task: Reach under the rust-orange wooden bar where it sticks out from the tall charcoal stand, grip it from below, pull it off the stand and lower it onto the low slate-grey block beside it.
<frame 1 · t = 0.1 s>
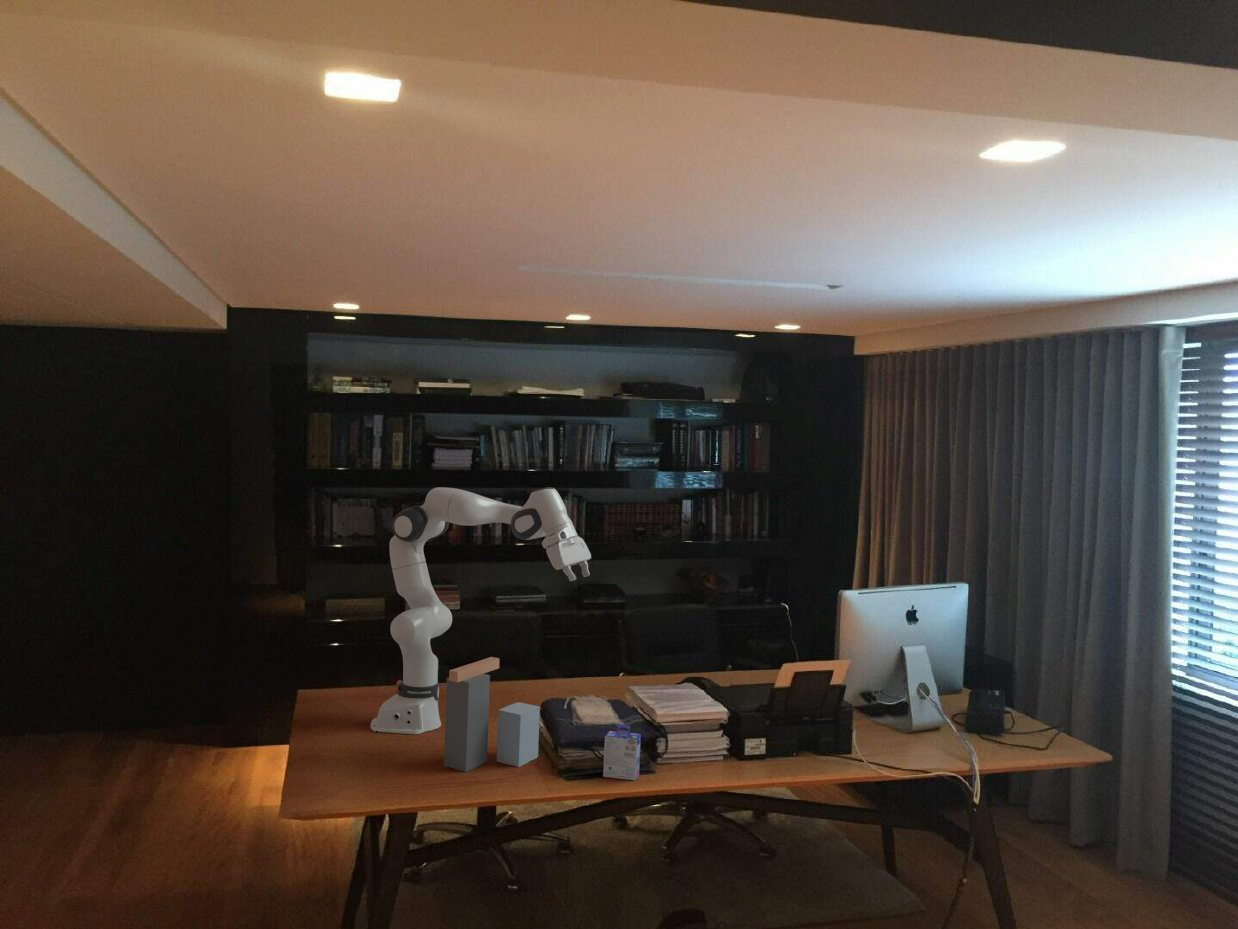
hand: (580, 578, 299), 54 cm above the table, tool tilted 30°, fingers open, 8 cm apart
bar: (489, 669, 298), point 26 cm above the table, touching tall stand
tall stand: (465, 764, 290), on the table
low block: (517, 759, 296), on the table
ink cartridge box: (621, 776, 286), on the table
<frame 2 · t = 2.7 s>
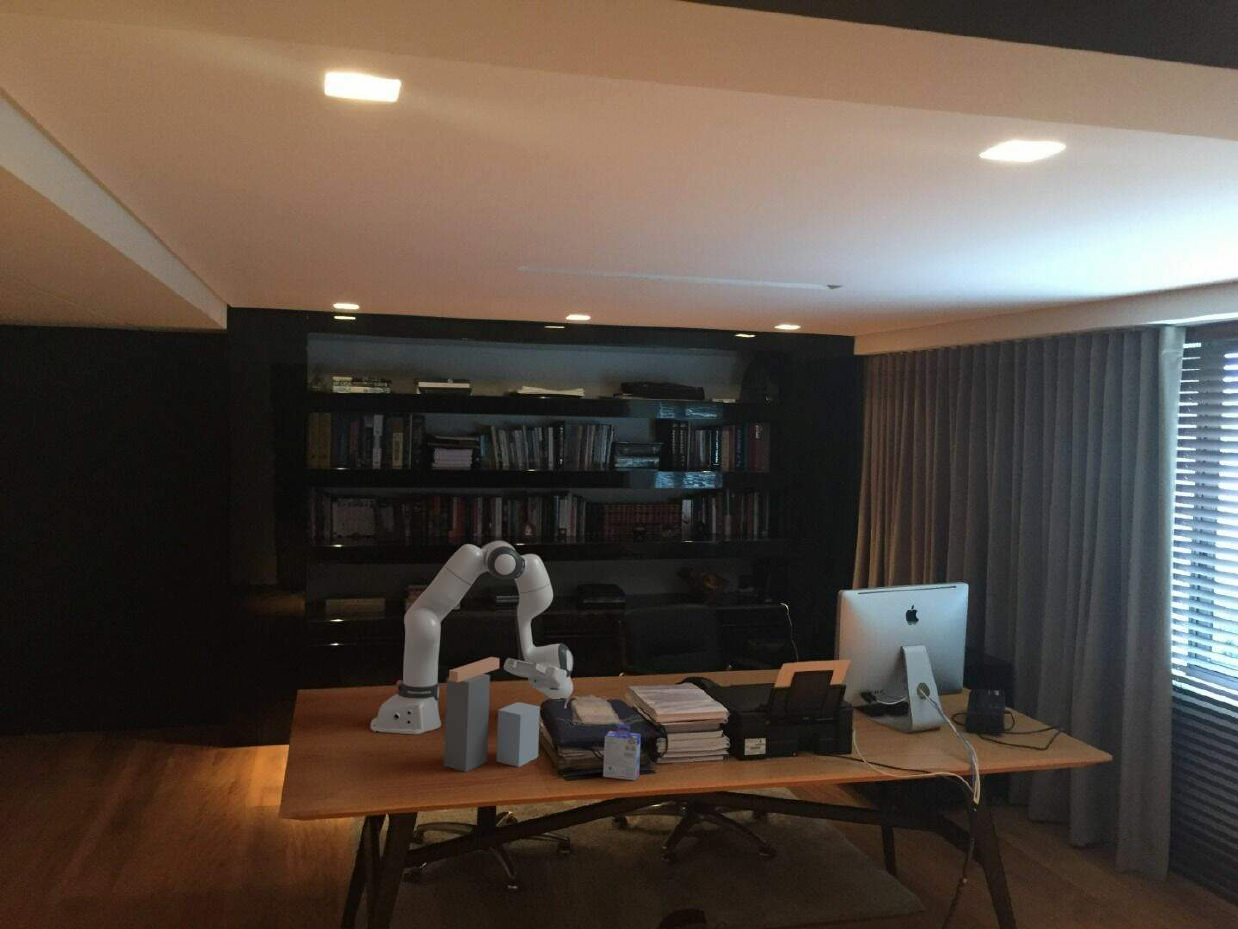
hand: (522, 663, 313), 24 cm above the table, tool pointing upward, fingers open, 8 cm apart
nothing on the table moved.
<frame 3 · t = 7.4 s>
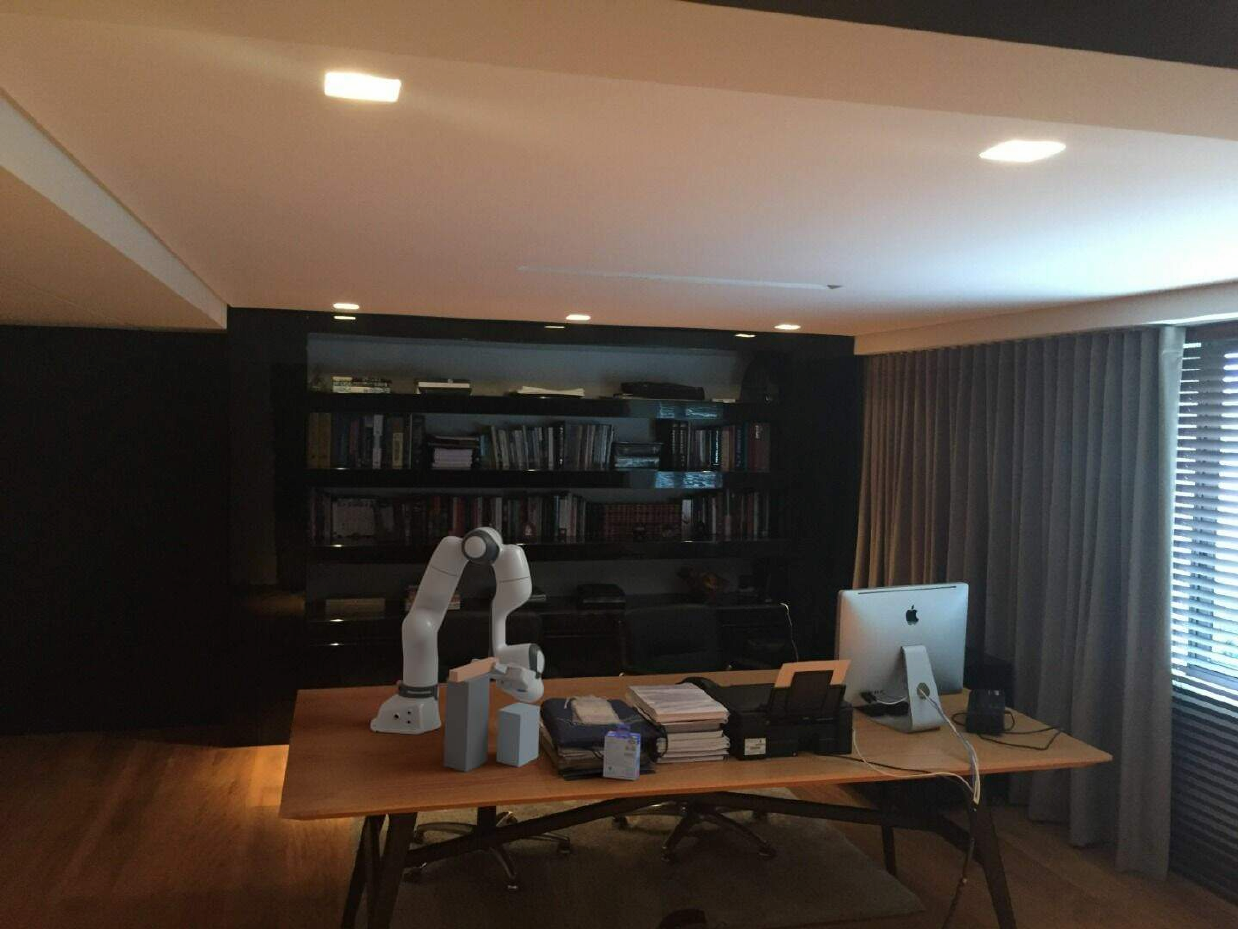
hand: (487, 663, 297), 28 cm above the table, tool pointing upward, fingers closed on bar, 3 cm apart
bar: (489, 669, 298), point 26 cm above the table, touching gripper, tall stand
everything else where it was.
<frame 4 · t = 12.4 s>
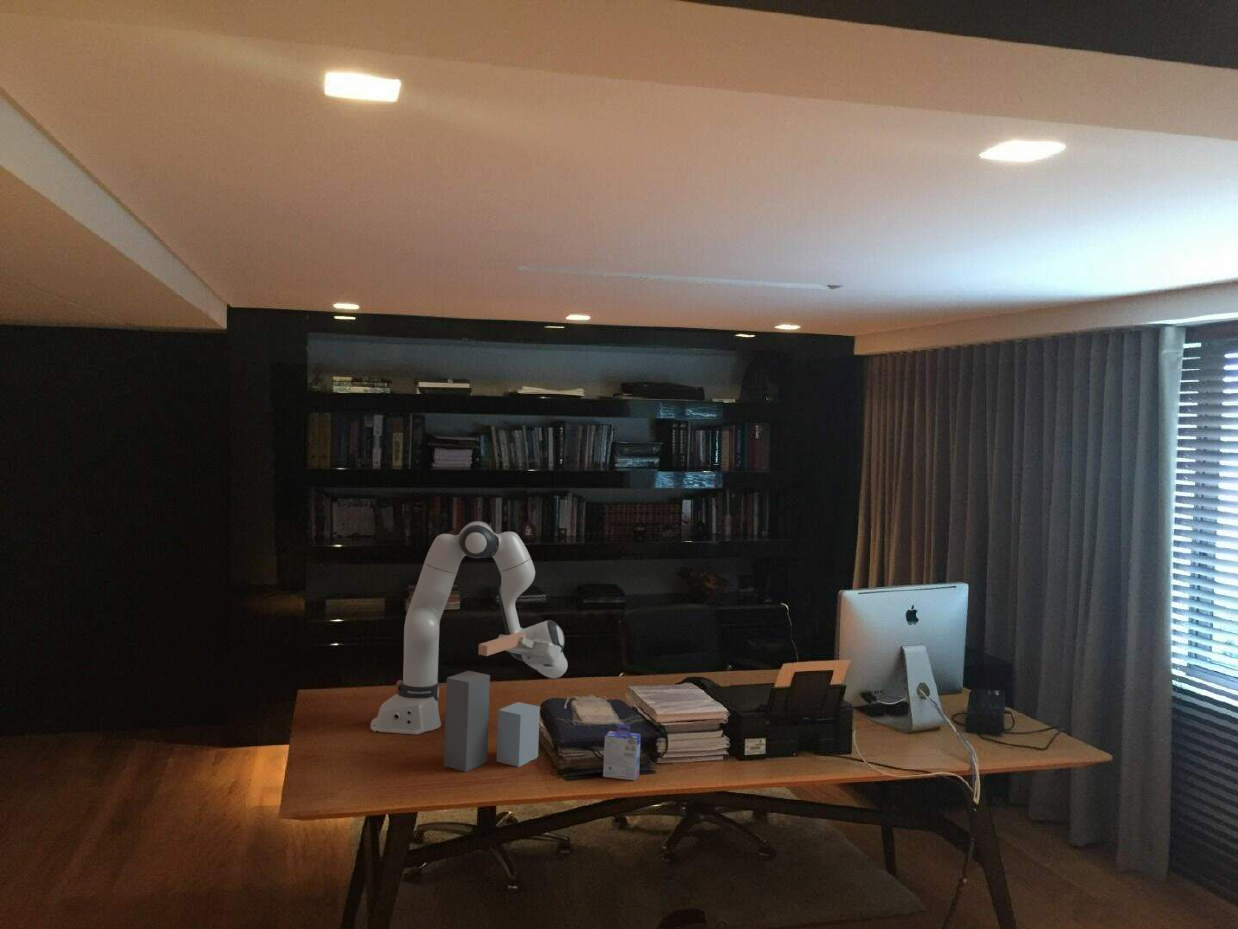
hand: (515, 638, 304), 34 cm above the table, tool pointing upward, fingers closed on bar, 3 cm apart
bar: (516, 644, 305), point 32 cm above the table, touching gripper
everything else where it was.
when the fingers open (19 cm above the table, at t = 17.7 s): bar drops 2 cm, resting on low block.
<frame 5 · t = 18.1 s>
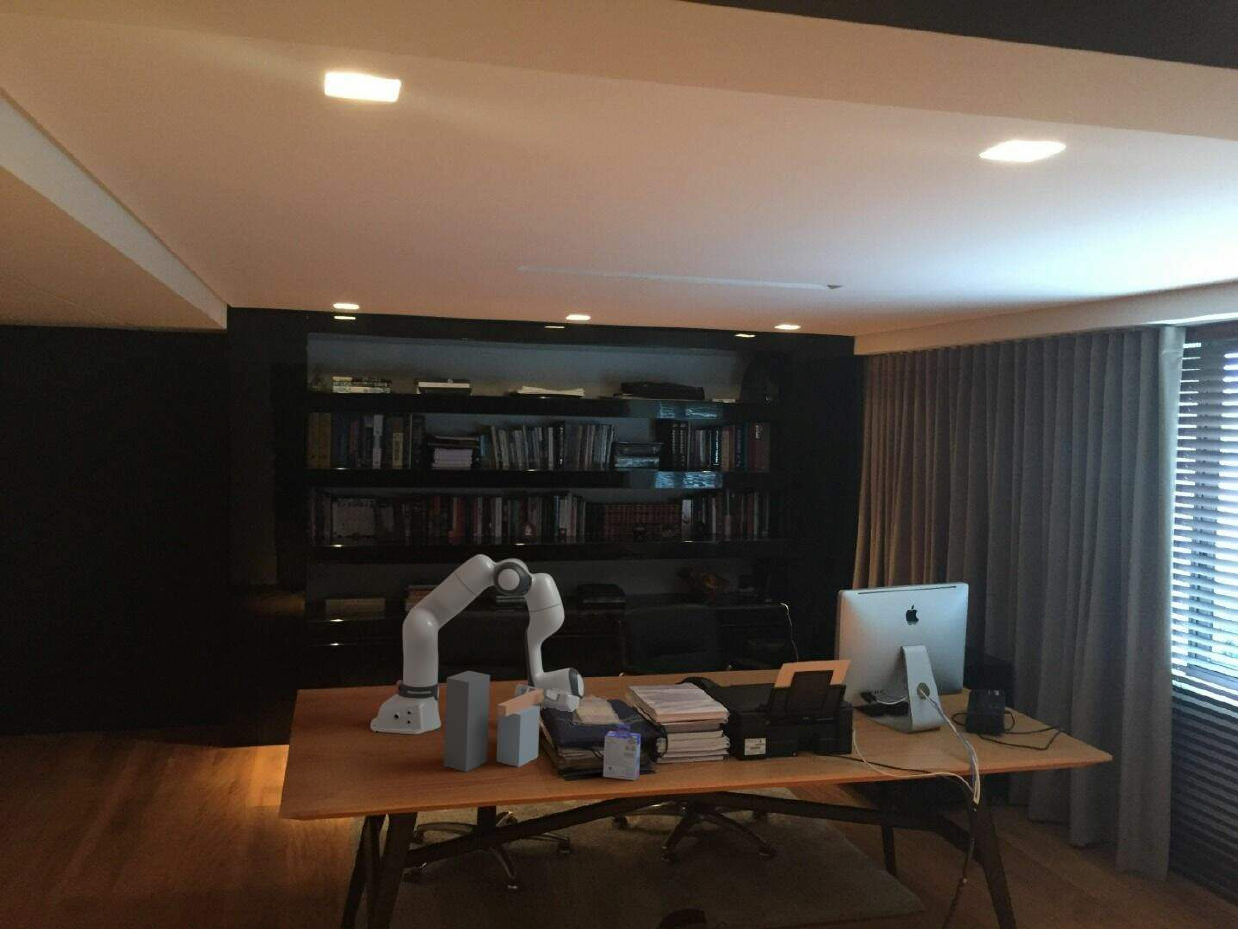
hand: (533, 689, 301), 19 cm above the table, tool pointing upward, fingers open, 7 cm apart
bar: (534, 702, 302), point 15 cm above the table, touching low block
everything else where it was.
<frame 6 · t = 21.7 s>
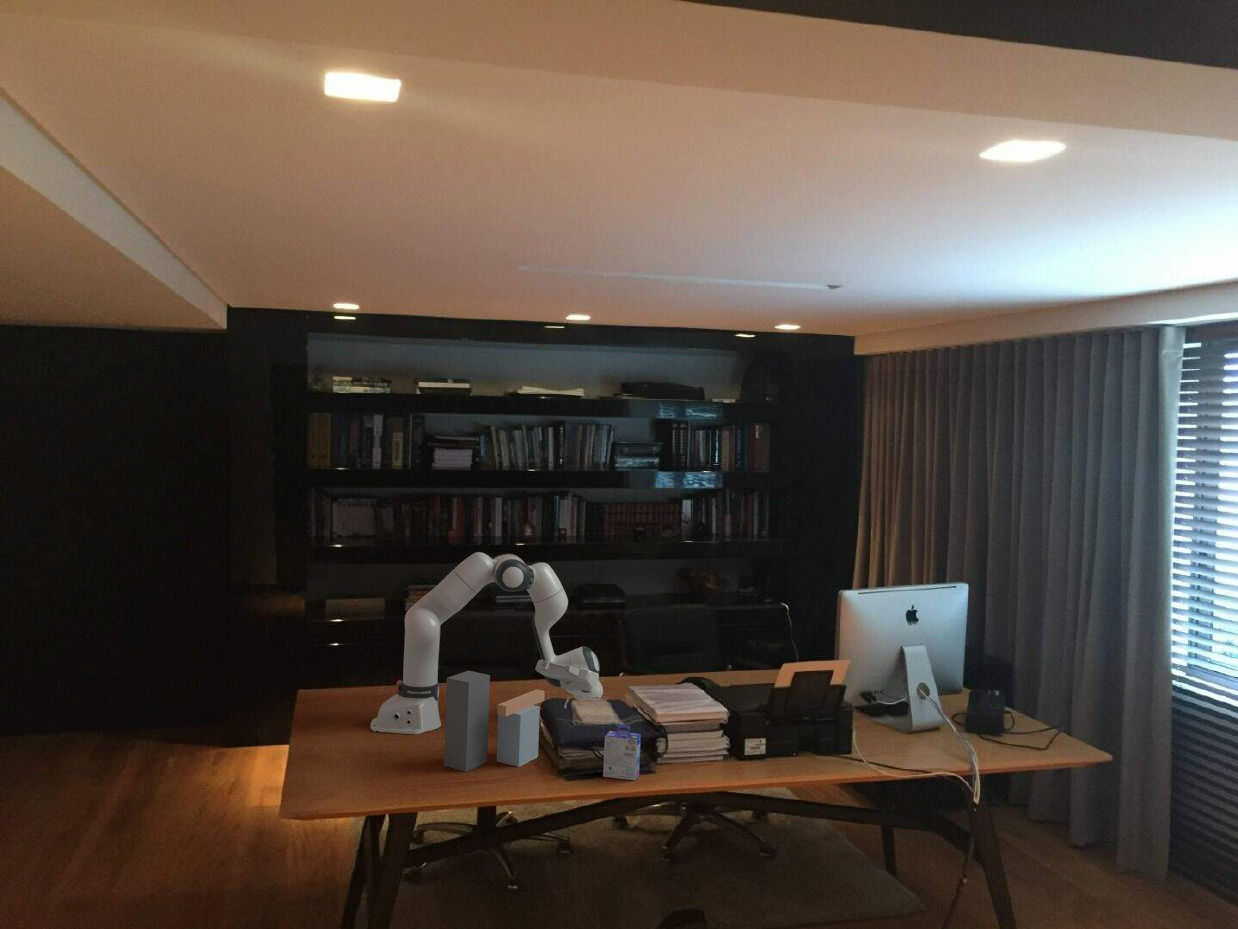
hand: (555, 665, 311), 25 cm above the table, tool pointing upward, fingers open, 8 cm apart
nothing on the table moved.
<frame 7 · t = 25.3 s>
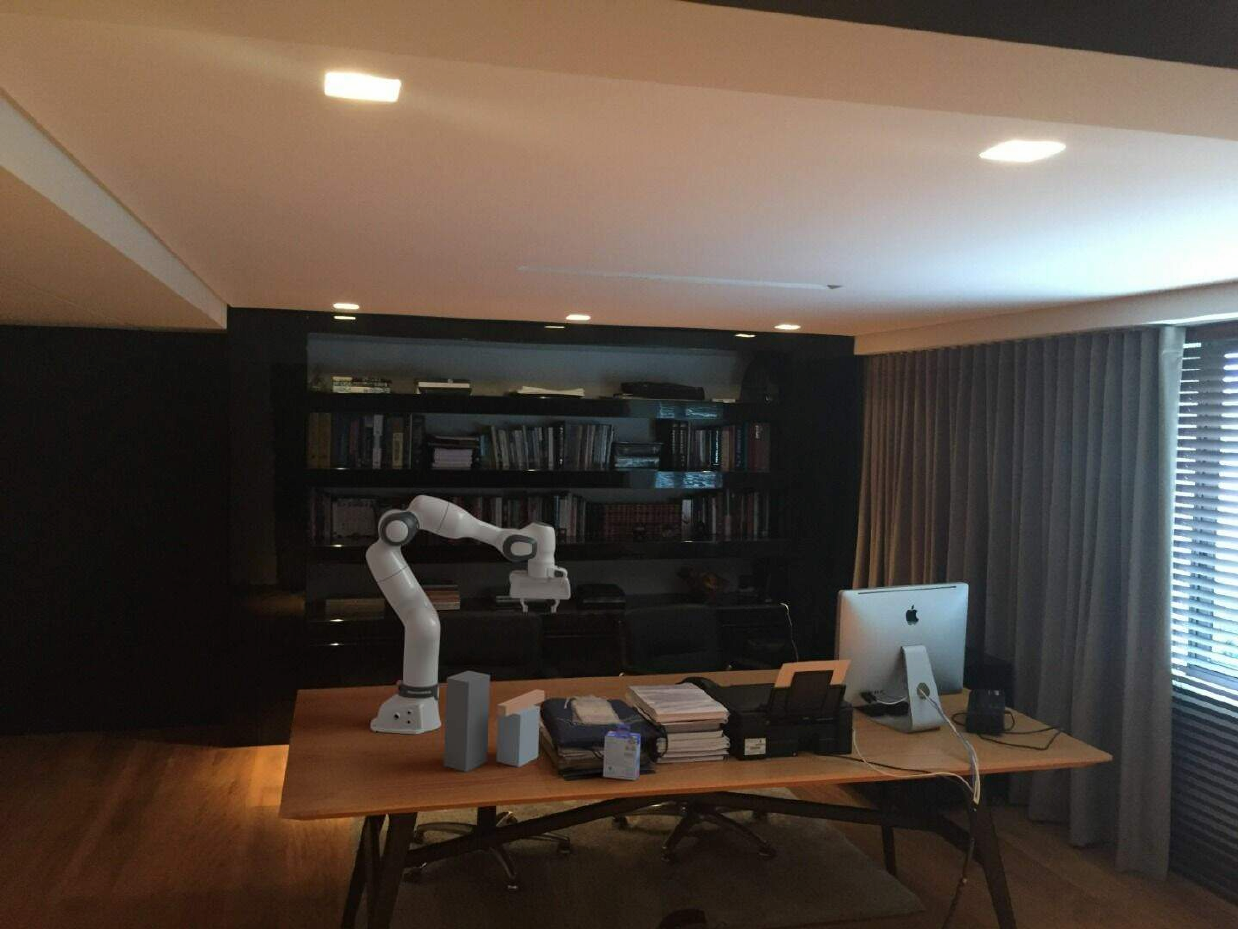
hand: (539, 611, 331), 37 cm above the table, tool pointing down, fingers open, 8 cm apart
nothing on the table moved.
at the end: bar inside the target area on the low block (0.0 cm from its centre), point 15.5 cm above the low block's base; bar touching low block; the gripper is holding nothing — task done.
